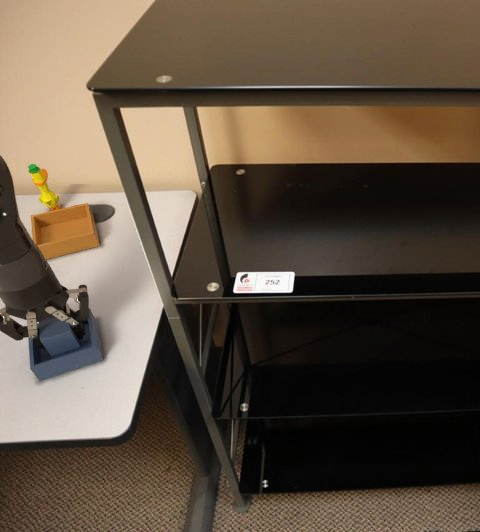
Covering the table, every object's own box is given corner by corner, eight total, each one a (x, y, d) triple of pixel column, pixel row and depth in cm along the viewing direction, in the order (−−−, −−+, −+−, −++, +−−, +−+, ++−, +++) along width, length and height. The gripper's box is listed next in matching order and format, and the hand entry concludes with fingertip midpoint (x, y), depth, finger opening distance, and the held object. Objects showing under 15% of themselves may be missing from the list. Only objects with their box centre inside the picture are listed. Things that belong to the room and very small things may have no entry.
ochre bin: (37, 228, 109) (30, 215, 107) (93, 215, 113) (87, 202, 111) (40, 260, 103) (33, 247, 100) (100, 245, 107) (94, 233, 104)
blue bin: (36, 338, 90) (27, 326, 87) (96, 320, 94) (89, 307, 91) (39, 381, 84) (30, 369, 82) (103, 360, 88) (96, 347, 85)
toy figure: (49, 200, 116) (25, 155, 107) (67, 198, 117) (45, 153, 108) (45, 219, 111) (20, 173, 103) (63, 217, 112) (40, 171, 104)
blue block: (49, 337, 88) (38, 320, 85) (77, 328, 89) (68, 312, 86) (51, 356, 85) (39, 340, 82) (80, 346, 87) (70, 330, 84)
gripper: (70, 242, 80) (106, 311, 92) (-40, 268, 74) (14, 339, 87) (75, 273, 76) (113, 342, 88) (-41, 304, 70) (16, 373, 82)
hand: (63, 340), depth 87 cm, fingers closed on blue block, 4 cm apart
